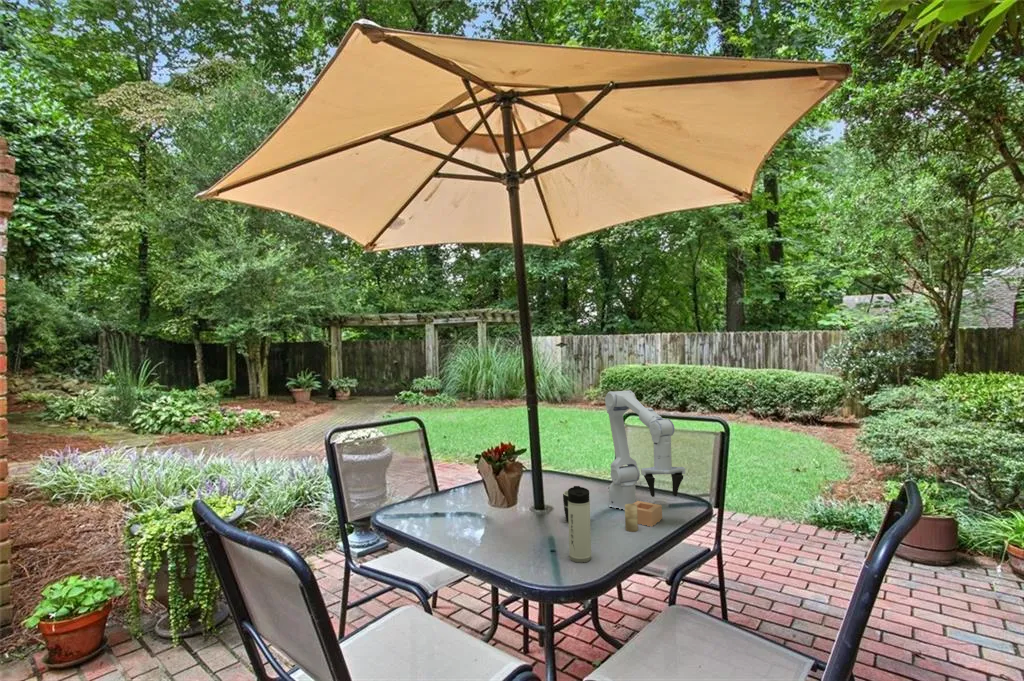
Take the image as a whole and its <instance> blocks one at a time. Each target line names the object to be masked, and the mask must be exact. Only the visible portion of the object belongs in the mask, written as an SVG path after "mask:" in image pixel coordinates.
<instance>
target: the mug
mask: <svg viewBox="0 0 1024 681" xmlns="http://www.w3.org/2000/svg"><path fill="white" fill-rule="evenodd" d="M568 490H569V489H567V490H565V491H563V493H562V499H563V510H564V516H565V519H566V520H565V521H566V522H567V524H569V521H568Z"/></svg>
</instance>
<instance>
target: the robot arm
mask: <svg viewBox="0 0 1024 681" xmlns="http://www.w3.org/2000/svg"><path fill="white" fill-rule="evenodd" d="M605 395H606V396H605V397H604V402H605V403H604V404H605V409H606V414H608V420H609V424H610V431H611V435H612V436H611V437H612V442H613V448H614V454H615V459H614V460H613V461H612V462H611V464H610V478H611V480H612V482H611V483H610V485H609V489H608V497H609V498H608V499H609V505H608V507H609V506H610V505H611V506H610V507H612V506H613V507H614V508H613V509H616V508H619V509H618V510H621V509H623V510H622V511H625V504H633V503H635V502H636V501H637V500H636V499H637V498H636V496H637V495H636V485H637V484H638V481H639V480H640V477H641V476H643V478H644V479H645V481H646V483H647V486H648V489H649V493H650V496H651V497H652V498H655V496H656V495H655V482H656V478H655V477H654V475H671V482H672V495H673V496H674V497H677V496H678V492H679V489H680V485H681V483H682V481H683V480H684V475H686V468H685V467H684V466H672V459H673V458H672V436H673V435H674V433H675V424H674V422H673V421H672V420H671V419H670V418H663V417H662V416H661V415H659V414H658V413H657V412H656V411H655V410H654V408H652V407H646V406H644V405H643V404H642V403H641V402H640V400H638V399H637V397H636V394H635V392H633V391H632V390H631V389H630V390H629V389H627V390H620V391H619V390H615V391H613V390H610V391H608V392H607V393H606V394H605ZM629 410H630V411H632V412H634V413H635V414H637V416H638V419H639V421H640V423H642V424H643V425H645V426H646V427H647V428H648V429H649V433H650V436H651V441H652V443H653V466H652V467H650V466H649V467H643V468H640V469H639V467H638V464H637V461H636V460H635V459H633V458H632V457H631V455H630V450H629V443H628V437H627V431H626V427H625V426H626V425H625V422H624V415H625V413H627V412H628V411H629ZM610 507H609V508H610Z"/></svg>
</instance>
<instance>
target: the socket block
mask: <svg viewBox="0 0 1024 681" xmlns="http://www.w3.org/2000/svg"><path fill="white" fill-rule="evenodd" d="M633 504H635V505H637V518H638V525H640V524H642V525H641V526H644V525H647V526H646V527H649V526H651V527H650V528H653V527H654V526H656V523H657V522H658V523H659V522H661V521H662V520H663V505H662V504H659V503H652V502H647V501H641V500H636V502H635V503H633ZM661 519H662V520H661ZM660 520H661V521H660ZM658 523H657V524H658ZM653 525H654V526H653ZM652 526H653V527H652Z"/></svg>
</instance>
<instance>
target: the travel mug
mask: <svg viewBox="0 0 1024 681" xmlns="http://www.w3.org/2000/svg"><path fill="white" fill-rule="evenodd" d="M567 490H568V521H569V523H568V545H569V546H568V548H569V551H568V552H569V559H570V560H571V562H575V563H578V562H581V564H582V563H583V562H584V563H587V562H590V561H591V560H592V540H591V539H592V538H591V536H592V535H591V534H592V532H591V504H590V502H591V500H590V490H589V489H588V488H585V487H582V486H581V485H573V487H570V488H568V489H567ZM584 563H583V564H584Z"/></svg>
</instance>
